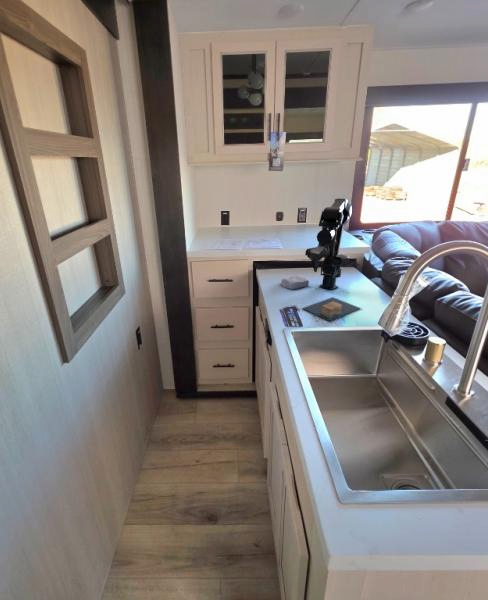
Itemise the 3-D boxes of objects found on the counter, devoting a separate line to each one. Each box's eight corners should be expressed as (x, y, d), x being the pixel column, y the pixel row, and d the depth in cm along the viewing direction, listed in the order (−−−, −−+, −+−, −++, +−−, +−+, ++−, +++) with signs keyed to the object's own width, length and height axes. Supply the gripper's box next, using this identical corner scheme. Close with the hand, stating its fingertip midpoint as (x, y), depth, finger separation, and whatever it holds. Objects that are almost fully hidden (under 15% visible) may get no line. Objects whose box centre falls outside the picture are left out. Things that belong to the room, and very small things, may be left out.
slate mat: (332, 298, 144) (332, 297, 143) (360, 308, 133) (360, 308, 133) (302, 309, 133) (302, 308, 133) (329, 321, 123) (330, 320, 122)
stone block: (278, 287, 161) (291, 290, 152) (278, 278, 160) (291, 280, 151) (297, 284, 166) (310, 286, 157) (297, 275, 165) (310, 277, 156)
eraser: (331, 310, 131) (332, 301, 130) (340, 314, 128) (342, 305, 126) (320, 314, 128) (321, 305, 126) (329, 318, 124) (331, 309, 123)
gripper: (298, 237, 133) (295, 272, 140) (335, 246, 120) (329, 284, 126) (315, 234, 139) (311, 268, 146) (352, 242, 125) (346, 279, 132)
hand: (323, 274), depth 137 cm, fingers open, 9 cm apart
